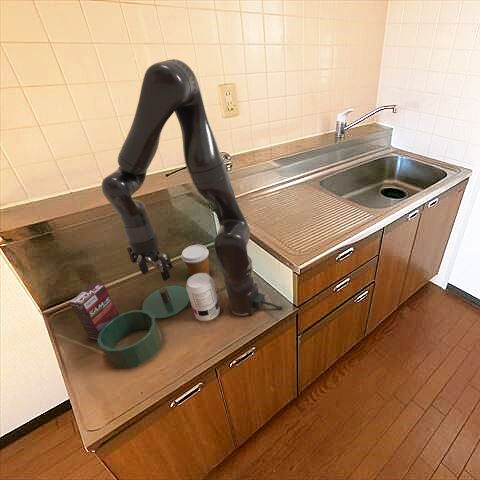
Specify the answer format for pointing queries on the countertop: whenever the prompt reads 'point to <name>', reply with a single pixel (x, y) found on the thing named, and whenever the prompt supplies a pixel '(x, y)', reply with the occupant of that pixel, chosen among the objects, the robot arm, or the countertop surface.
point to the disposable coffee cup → (196, 259)
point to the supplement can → (203, 296)
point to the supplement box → (94, 309)
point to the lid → (166, 301)
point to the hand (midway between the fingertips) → (156, 275)
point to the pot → (138, 350)
